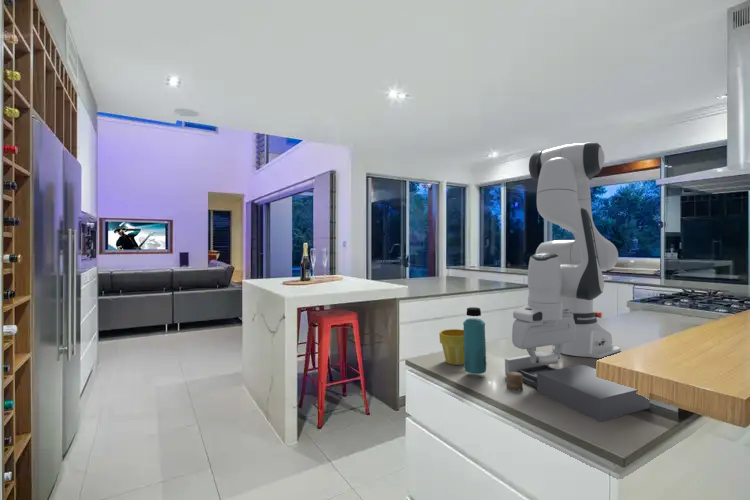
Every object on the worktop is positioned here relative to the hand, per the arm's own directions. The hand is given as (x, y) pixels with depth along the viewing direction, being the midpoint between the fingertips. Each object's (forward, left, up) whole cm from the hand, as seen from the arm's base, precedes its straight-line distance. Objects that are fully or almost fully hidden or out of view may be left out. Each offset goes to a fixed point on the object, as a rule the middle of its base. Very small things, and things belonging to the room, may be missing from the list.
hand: (545, 360), depth 108 cm
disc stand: (+11, 0, -6) cm, 12 cm away
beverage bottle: (+15, -12, -6) cm, 20 cm away
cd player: (0, +14, -6) cm, 15 cm away
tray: (0, +1, -5) cm, 6 cm away
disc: (0, 0, 0) cm, 0 cm away
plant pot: (+13, -25, -6) cm, 29 cm away
